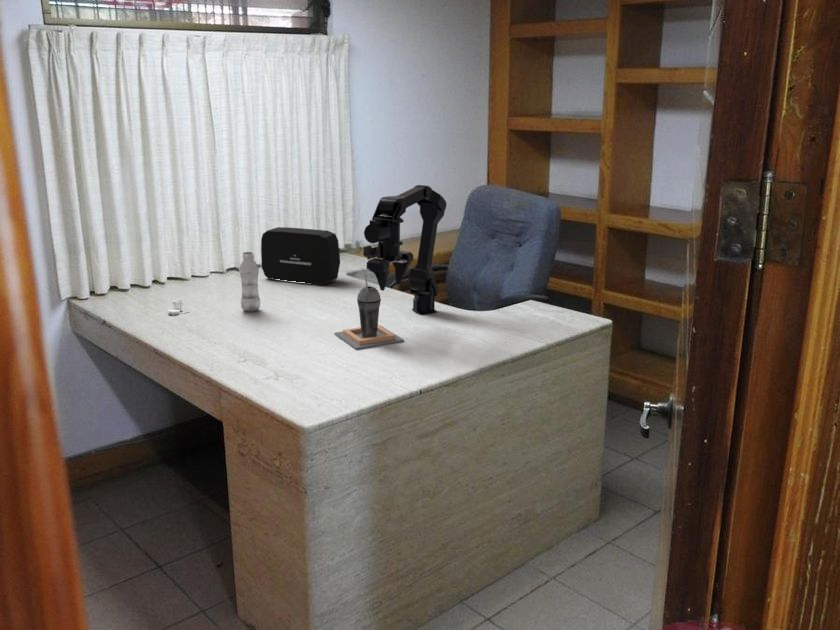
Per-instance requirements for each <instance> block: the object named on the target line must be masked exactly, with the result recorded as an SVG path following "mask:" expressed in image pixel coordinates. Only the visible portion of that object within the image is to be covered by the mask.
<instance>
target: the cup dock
mask: <svg viewBox="0 0 840 630" xmlns="http://www.w3.org/2000/svg"><path fill="white" fill-rule="evenodd" d="M334 335H335V336H336V337H337V338H339V339H340V340H342V341H343V342H344V343H345V344H347V345H349V346H350V348H353V349H354V350H356V351H357V350H364V349H369V348H375V347H382V346H387V345H392V344H394V345H395V344H399V343H404V342H405V339H404V338H402V337H401V336H399V335H397V334H395V333H394V332H392V331H391V330H389V329H387V328H385V326H382V325H379V324H378V329H377V336H376V337H370V338H363V337H362V332H361V326H359V327H353V328H352V327H351V328H347V329H343V330H342V331H336V332H334Z"/></svg>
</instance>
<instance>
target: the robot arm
mask: <svg viewBox="0 0 840 630" xmlns="http://www.w3.org/2000/svg"><path fill="white" fill-rule="evenodd" d="M415 204H417V205H418V207H419V214H420V217H421V220H422V227H421V234H420V240H419V241H420V242H419V248H418V255H417V262H416V264H415V266H414V267H413V268H412V267H411V268H410V269H409V267H410V266H411V264H412V262H414V254H413V253H412V252H411V251H405V250H401V246H402V245H403V243H404V242H403V241H402V240H401V223H404V219H403V218H402V216H404V214H405V213H406V212H407V209H408V208H409V207H411V206H413V205H415ZM446 209H447V201H446V200H445V198H444V197H443V195H442V194H440V193H438V192H436V191H435V190H433V188H431V187H430V185H424V184H423V185H422V184H418V185H417V184H416V185H415V186H414V187H412V188H410V189H408V190H406V191H403V192H402V193H400V194H398V195H388V196H384V197H381V198H380V199H379V201H378V203H377V205H376V207H375V210H374V213H373V215H372V218H371V219H370V220H369V224H368V225H367V226H365V229H364V230H363V234H364V235H363V237H364V238H365V240H366V241H367V243H370V244H376V243H377V246H374V247H372V245H367V246H364V247H363V252H362V255H363V256H364V258H367V261H366V270H368V271H370V272H372V273H373V274H374V275H375V278H376V280H377V284H378V286H379V288H380V291H383V292H384V291H385V288H386V286H387V282H388V279H389V276H390V275H389V274H390V269H389V268H390V265H391V264H392V266H393V267H394V272H395V283H396V285H400V284H401V283H402V281H403V279H404V276H405V274H406V272H407V270H408V269H409V276H408V278H407V279H408V287H409V292H410V294H411V295H412V294H413V295H414V297H413V299H412V300H413V301H412V308H411V310H412V311H413V312H415V313H417V314H419V315H427V314H433V313H434V314H435V313H438V311H437V309H435V302H436V301H435V297H438V295H439V294H440V287H439V285H438V284H437V283H436V281H435V277H436V274H435V272H434V269H433V267H432V265H433V257H434V251H435V244H436V239H437V233H438V232H437V231H438V224H439V222H440V221H441V220H442V219H443V217H445V216H444V215H445V211H446Z"/></svg>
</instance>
